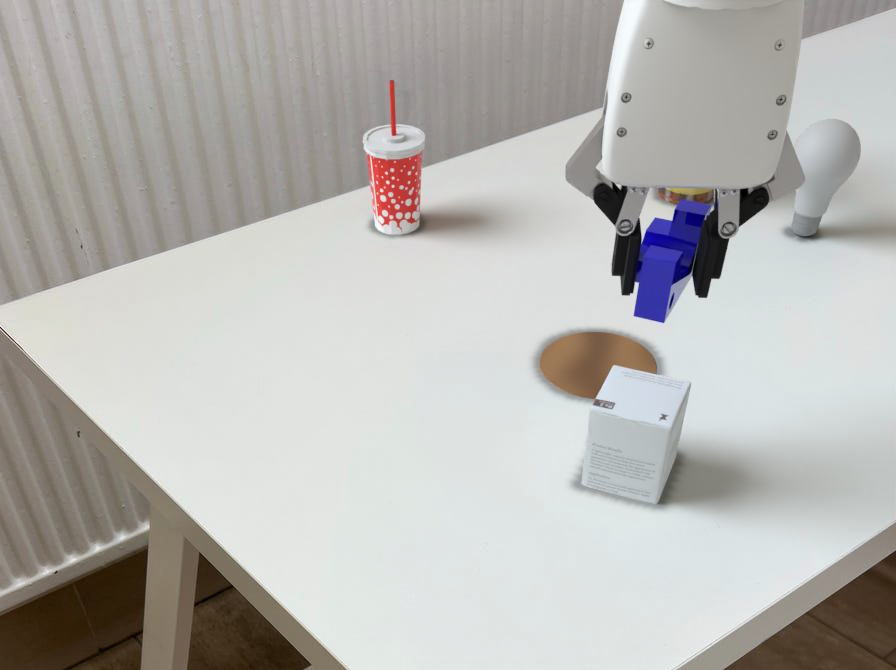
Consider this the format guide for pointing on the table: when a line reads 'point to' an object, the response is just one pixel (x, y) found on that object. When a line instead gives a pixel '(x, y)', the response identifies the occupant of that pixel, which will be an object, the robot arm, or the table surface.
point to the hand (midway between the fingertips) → (662, 283)
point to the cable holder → (668, 260)
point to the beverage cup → (395, 173)
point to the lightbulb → (822, 170)
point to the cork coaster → (591, 361)
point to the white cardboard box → (634, 433)
